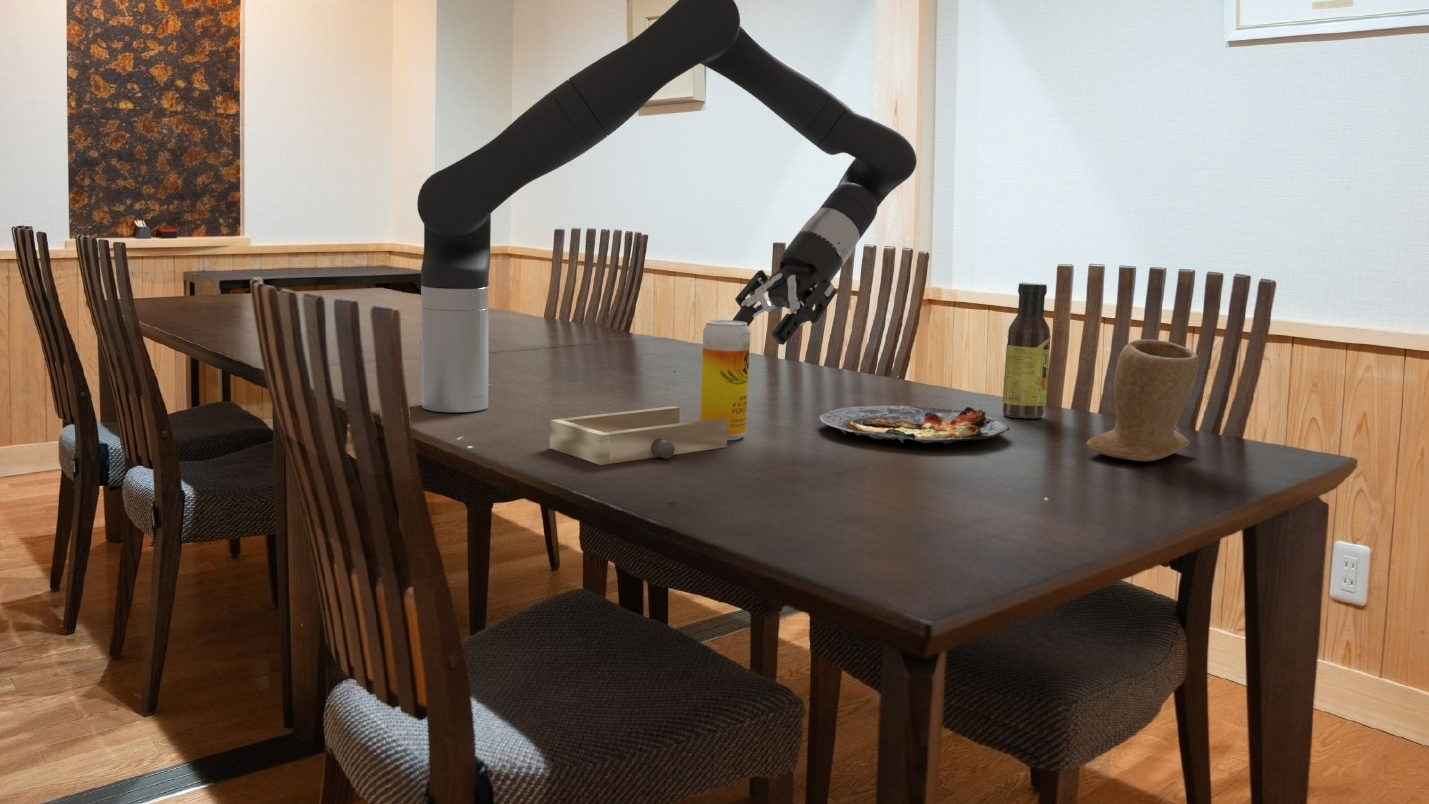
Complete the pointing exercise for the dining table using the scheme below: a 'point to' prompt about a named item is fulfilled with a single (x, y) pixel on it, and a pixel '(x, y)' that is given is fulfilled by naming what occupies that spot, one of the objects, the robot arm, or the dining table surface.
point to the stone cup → (1149, 401)
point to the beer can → (725, 374)
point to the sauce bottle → (1027, 356)
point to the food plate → (915, 423)
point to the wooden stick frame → (635, 435)
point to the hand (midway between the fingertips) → (754, 336)
